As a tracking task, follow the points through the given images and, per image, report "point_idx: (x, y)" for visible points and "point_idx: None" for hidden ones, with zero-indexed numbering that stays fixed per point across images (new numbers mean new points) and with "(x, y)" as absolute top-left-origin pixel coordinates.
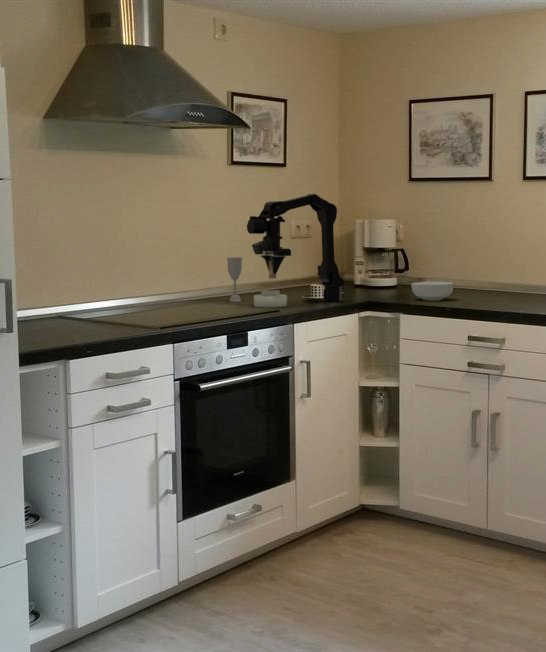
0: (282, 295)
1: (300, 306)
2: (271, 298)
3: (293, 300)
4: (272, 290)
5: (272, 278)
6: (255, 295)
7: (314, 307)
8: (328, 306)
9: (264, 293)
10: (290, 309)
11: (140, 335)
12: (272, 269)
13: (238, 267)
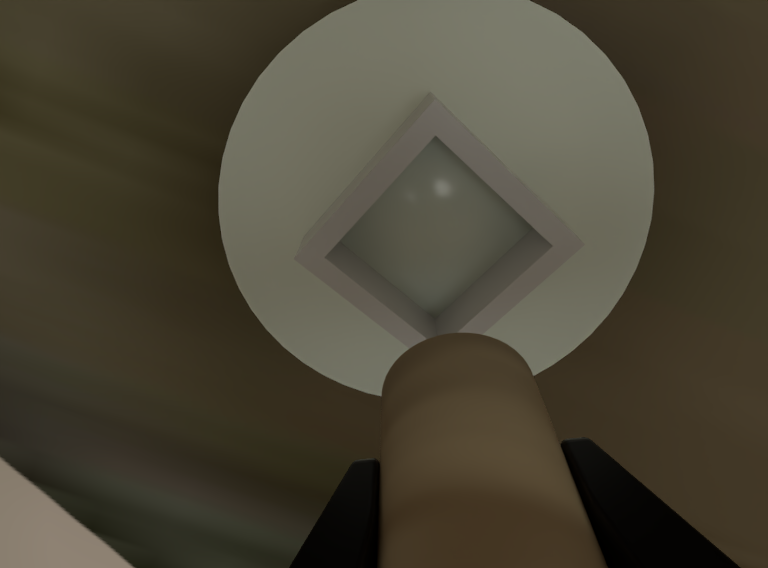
0: (366, 348)
1: (241, 393)
2: (227, 157)
3: (719, 511)
4: (492, 302)
5: (389, 372)
6: (556, 42)
7: (126, 447)
8: (167, 539)
9: (397, 136)
10: (6, 230)
11: None
12: (388, 532)
13: None
